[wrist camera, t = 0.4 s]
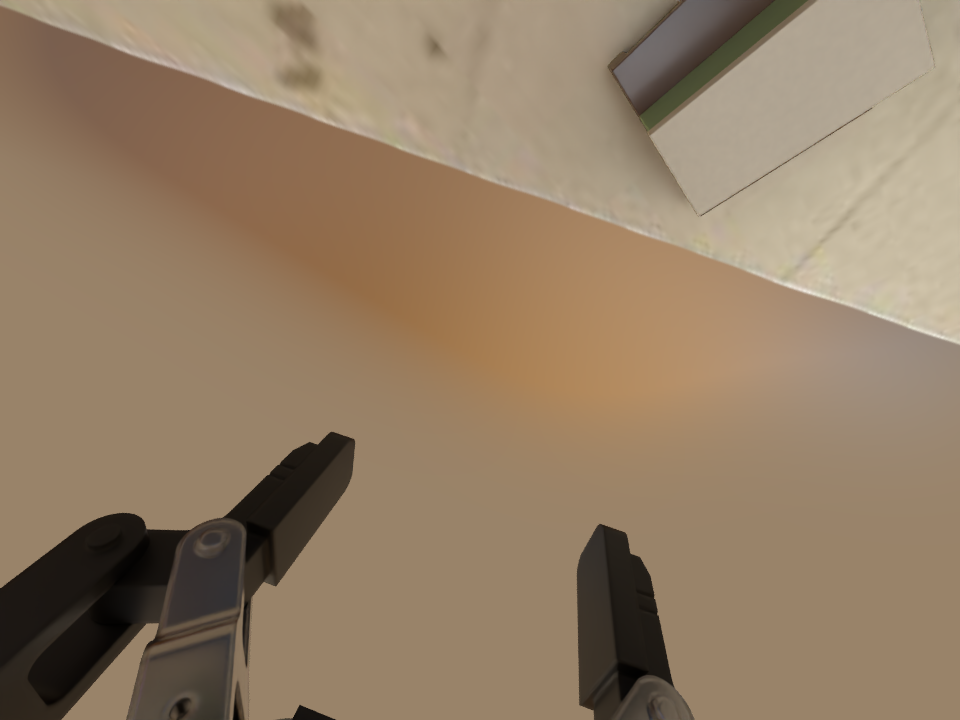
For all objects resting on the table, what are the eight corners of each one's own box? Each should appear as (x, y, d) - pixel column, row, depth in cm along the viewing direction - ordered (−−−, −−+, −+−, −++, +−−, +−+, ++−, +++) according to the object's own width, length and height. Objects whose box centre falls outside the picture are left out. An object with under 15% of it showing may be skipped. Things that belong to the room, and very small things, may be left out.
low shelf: (607, 65, 26) (611, 71, 23) (768, -93, 21) (801, -113, 18) (688, 198, 31) (700, 217, 28) (838, 98, 25) (873, 108, 22)
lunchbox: (635, 116, 25) (649, 136, 20) (826, -48, 19) (903, -70, 14) (678, 185, 27) (698, 217, 23) (861, 58, 21) (936, 67, 17)
